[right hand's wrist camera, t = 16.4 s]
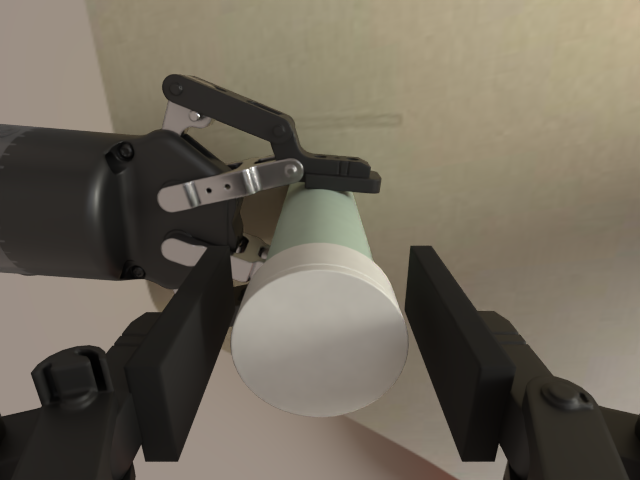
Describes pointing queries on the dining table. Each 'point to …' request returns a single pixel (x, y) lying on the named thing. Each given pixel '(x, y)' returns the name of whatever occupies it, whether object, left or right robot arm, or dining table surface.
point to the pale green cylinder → (319, 220)
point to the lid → (319, 331)
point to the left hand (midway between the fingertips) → (370, 227)
